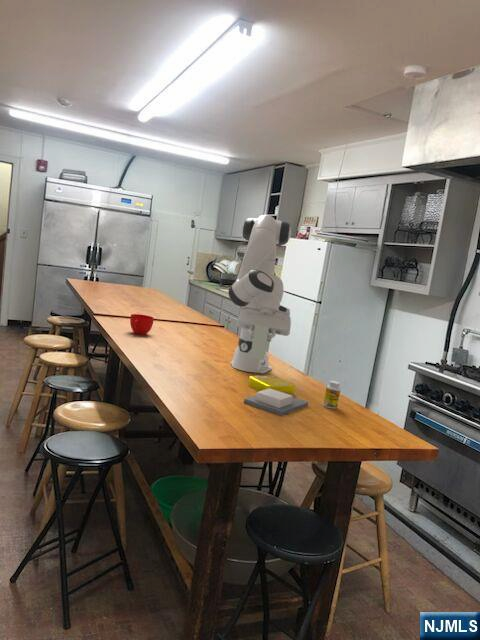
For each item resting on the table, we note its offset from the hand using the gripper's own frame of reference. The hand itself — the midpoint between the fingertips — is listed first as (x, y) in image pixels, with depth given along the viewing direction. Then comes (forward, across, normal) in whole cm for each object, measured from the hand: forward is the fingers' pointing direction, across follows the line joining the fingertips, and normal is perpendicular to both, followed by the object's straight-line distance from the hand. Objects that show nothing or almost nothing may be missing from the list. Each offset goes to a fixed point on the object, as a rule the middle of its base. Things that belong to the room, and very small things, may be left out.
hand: (260, 339), depth 184 cm
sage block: (+5, 0, +5) cm, 7 cm away
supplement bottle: (+7, +30, +27) cm, 41 cm away
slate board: (+15, +10, +19) cm, 26 cm away
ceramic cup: (-43, -76, +75) cm, 115 cm away
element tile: (+1, +6, +33) cm, 34 cm away
